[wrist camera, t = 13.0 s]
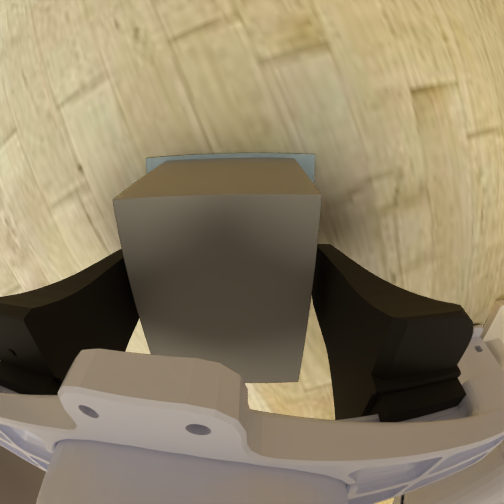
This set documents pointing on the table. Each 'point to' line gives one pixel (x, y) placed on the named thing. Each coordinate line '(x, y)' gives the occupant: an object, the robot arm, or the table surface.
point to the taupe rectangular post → (223, 261)
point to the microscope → (495, 332)
